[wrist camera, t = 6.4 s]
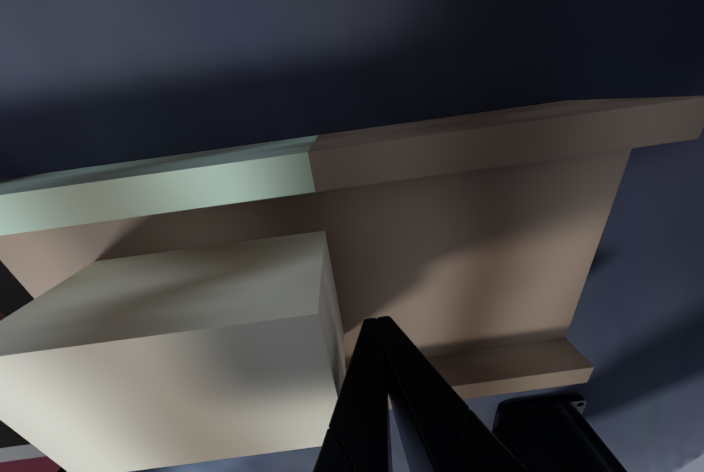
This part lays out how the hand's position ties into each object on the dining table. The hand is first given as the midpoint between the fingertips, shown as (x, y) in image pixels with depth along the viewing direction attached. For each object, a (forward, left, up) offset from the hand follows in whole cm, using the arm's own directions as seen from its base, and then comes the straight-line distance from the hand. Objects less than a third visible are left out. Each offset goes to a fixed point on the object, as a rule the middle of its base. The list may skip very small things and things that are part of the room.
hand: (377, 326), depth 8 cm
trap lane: (+5, 0, -5) cm, 7 cm away
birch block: (+5, 0, -2) cm, 6 cm away
